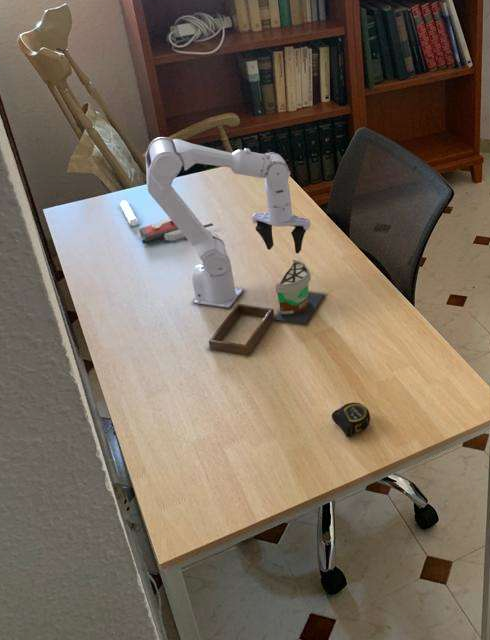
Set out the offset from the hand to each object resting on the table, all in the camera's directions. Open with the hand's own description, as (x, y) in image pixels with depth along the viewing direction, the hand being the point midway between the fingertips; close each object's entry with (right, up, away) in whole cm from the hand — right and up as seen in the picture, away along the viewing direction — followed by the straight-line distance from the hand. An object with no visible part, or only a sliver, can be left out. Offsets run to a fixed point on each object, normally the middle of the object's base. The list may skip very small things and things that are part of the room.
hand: (284, 249), depth 202 cm
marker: (-54, +11, +37) cm, 66 cm away
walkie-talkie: (-37, +7, +25) cm, 45 cm away
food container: (+5, -15, -4) cm, 16 cm away
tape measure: (+22, -37, -39) cm, 58 cm away
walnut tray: (-7, -20, -13) cm, 25 cm away
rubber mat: (+5, -15, -4) cm, 16 cm away
